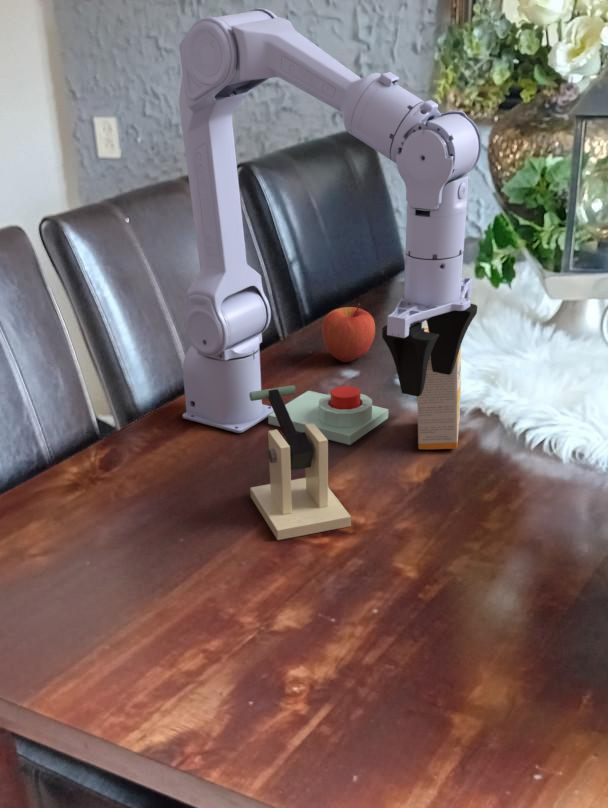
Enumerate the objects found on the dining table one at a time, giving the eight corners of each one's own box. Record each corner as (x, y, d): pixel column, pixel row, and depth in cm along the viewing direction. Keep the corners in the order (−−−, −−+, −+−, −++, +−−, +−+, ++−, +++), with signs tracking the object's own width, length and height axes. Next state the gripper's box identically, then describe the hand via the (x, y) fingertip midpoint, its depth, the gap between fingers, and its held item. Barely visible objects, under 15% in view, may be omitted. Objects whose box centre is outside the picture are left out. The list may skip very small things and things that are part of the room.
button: (324, 407, 122) (324, 393, 121) (340, 397, 125) (340, 383, 124) (350, 413, 121) (350, 399, 120) (365, 403, 123) (365, 389, 122)
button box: (268, 423, 126) (267, 401, 124) (308, 399, 131) (308, 377, 130) (349, 445, 120) (350, 421, 118) (388, 418, 125) (389, 395, 123)
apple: (330, 348, 146) (330, 292, 141) (379, 352, 144) (381, 295, 139) (316, 366, 140) (315, 309, 136) (367, 371, 138) (368, 313, 133)
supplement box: (459, 449, 116) (459, 339, 109) (417, 451, 117) (414, 341, 110) (461, 420, 123) (461, 313, 115) (421, 421, 124) (419, 316, 116)
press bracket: (250, 497, 110) (246, 422, 105) (319, 484, 112) (318, 410, 107) (277, 540, 102) (274, 462, 97) (351, 526, 104) (352, 448, 99)
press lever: (248, 402, 109) (249, 384, 107) (292, 394, 110) (294, 377, 108) (277, 473, 103) (279, 456, 101) (323, 465, 104) (326, 448, 102)
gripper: (435, 276, 93) (427, 414, 101) (503, 238, 102) (491, 367, 110) (369, 267, 97) (367, 400, 105) (441, 230, 106) (434, 356, 114)
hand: (427, 382), depth 108 cm, fingers open, 6 cm apart
